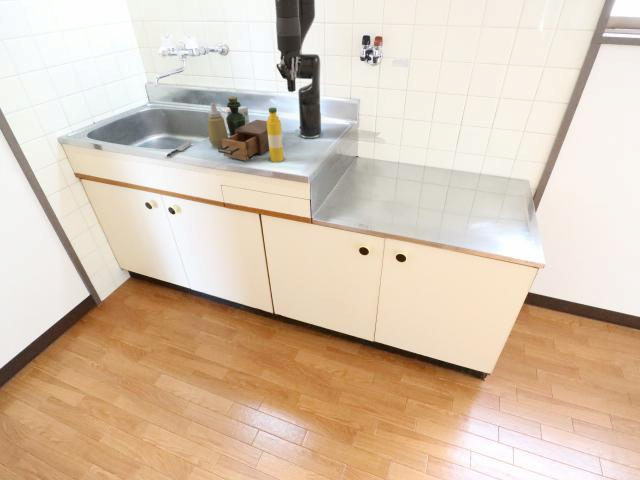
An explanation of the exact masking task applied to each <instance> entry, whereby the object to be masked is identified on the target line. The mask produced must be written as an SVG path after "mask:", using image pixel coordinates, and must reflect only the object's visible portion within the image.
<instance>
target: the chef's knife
mask: <svg viewBox="0 0 640 480" xmlns="http://www.w3.org/2000/svg"><path fill="white" fill-rule="evenodd" d="M191 145H192V140H189V141H187V142H185V143H184V144H182V145H181V146H179V147H177V148H176V149H174V150H172V151H171V152H169V153H167V154H166V157H171V156H172V155H173V154H176V153H177V152H183V151H184V150H185V149H187V148H188V147H190V146H191Z"/></svg>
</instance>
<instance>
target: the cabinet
mask: <svg viewBox="0 0 640 480" xmlns="http://www.w3.org/2000/svg"><path fill="white" fill-rule="evenodd" d="M267 121H268V120H262V119H255V120H252V121H251V122H250V121H249V123H248V124H246V125H244V126H241V127H239V128H237V129H235V134H237V133H245V134H250V135H256V136H258V143H259V152H257V153H255V154H254V155H256V156H263V155H265V154H267V153H268V152H270V151H269V142H268V131H267Z"/></svg>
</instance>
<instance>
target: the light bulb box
mask: <svg viewBox="0 0 640 480" xmlns="http://www.w3.org/2000/svg"><path fill="white" fill-rule="evenodd" d="M240 105H241V106H240V107H239V109H238V112H239V113H241V114H243V115H244V116H245V125H246V124H248V123H250V115H249V108H248V106H246V105H243V104H240ZM230 113H231V110H230V108H228V107H223V108H220V114H221V117H223V118H224V122H225V126H226V130H227V134H228V135H230V133H229V129H228V125H227V121H226V118H227V116H228V115H229V114H230Z"/></svg>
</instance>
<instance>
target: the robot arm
mask: <svg viewBox="0 0 640 480" xmlns="http://www.w3.org/2000/svg"><path fill="white" fill-rule="evenodd" d="M315 3H316V0H274V5H275V30H276V44H277V50H278V52H280V57H279V58H280V62H279V63H276V69H277V71H278V72H279V74H280V76H281V78H282V79H283V80H286V81H287V82H286V85H287V91H288V92H290V93H294V92H296V90H297V88H296V87H297V86H296V80H298V79H299V80H311V82H310V83H309V84H307V85H305V86H302V87H300V88H299V89H298V91H297V93H298V94H297V95H298V112H299V113H298V115H299V136H300V137H301V138H303V139H317V138H319V137H321V136H322V112H321V58H320V55H318V54H315V53H313V54H312V53H302V51H303V46H304V42H305V39H306V37H307V35H308V33H309V31H310V30H311V27H312V25H313V23H314V21H315V17H316V4H315Z"/></svg>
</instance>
